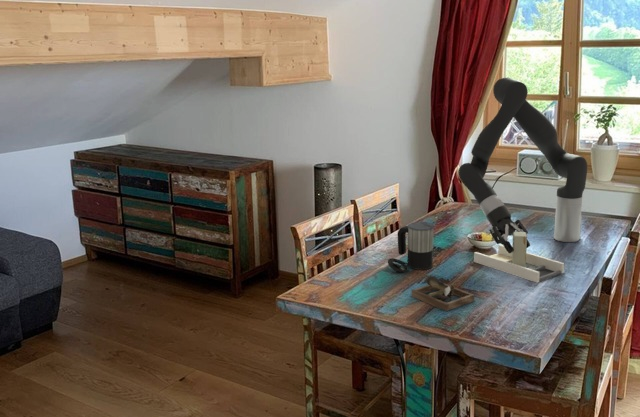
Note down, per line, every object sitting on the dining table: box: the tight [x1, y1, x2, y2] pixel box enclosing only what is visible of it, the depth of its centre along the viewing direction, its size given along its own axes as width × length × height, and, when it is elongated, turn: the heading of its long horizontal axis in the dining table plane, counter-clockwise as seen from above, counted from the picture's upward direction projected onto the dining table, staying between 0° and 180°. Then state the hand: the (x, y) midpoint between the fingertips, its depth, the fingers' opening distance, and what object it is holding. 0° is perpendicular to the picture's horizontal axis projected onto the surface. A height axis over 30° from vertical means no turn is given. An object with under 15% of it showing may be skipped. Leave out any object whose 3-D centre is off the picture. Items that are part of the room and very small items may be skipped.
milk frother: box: [387, 221, 435, 273], centre depth 236 cm, size 14×16×15 cm
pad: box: [490, 252, 512, 263], centre depth 242 cm, size 11×8×1 cm
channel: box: [473, 244, 565, 283], centre depth 235 cm, size 14×27×4 cm, turn 35°
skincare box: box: [511, 231, 528, 268], centre depth 233 cm, size 6×4×12 cm
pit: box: [532, 265, 562, 283], centre depth 227 cm, size 11×7×1 cm, turn 125°
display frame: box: [411, 282, 475, 312], centre depth 210 cm, size 12×15×2 cm
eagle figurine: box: [425, 276, 456, 301], centre depth 209 cm, size 8×7×9 cm
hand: (520, 249), depth 233 cm, fingers open, 8 cm apart
